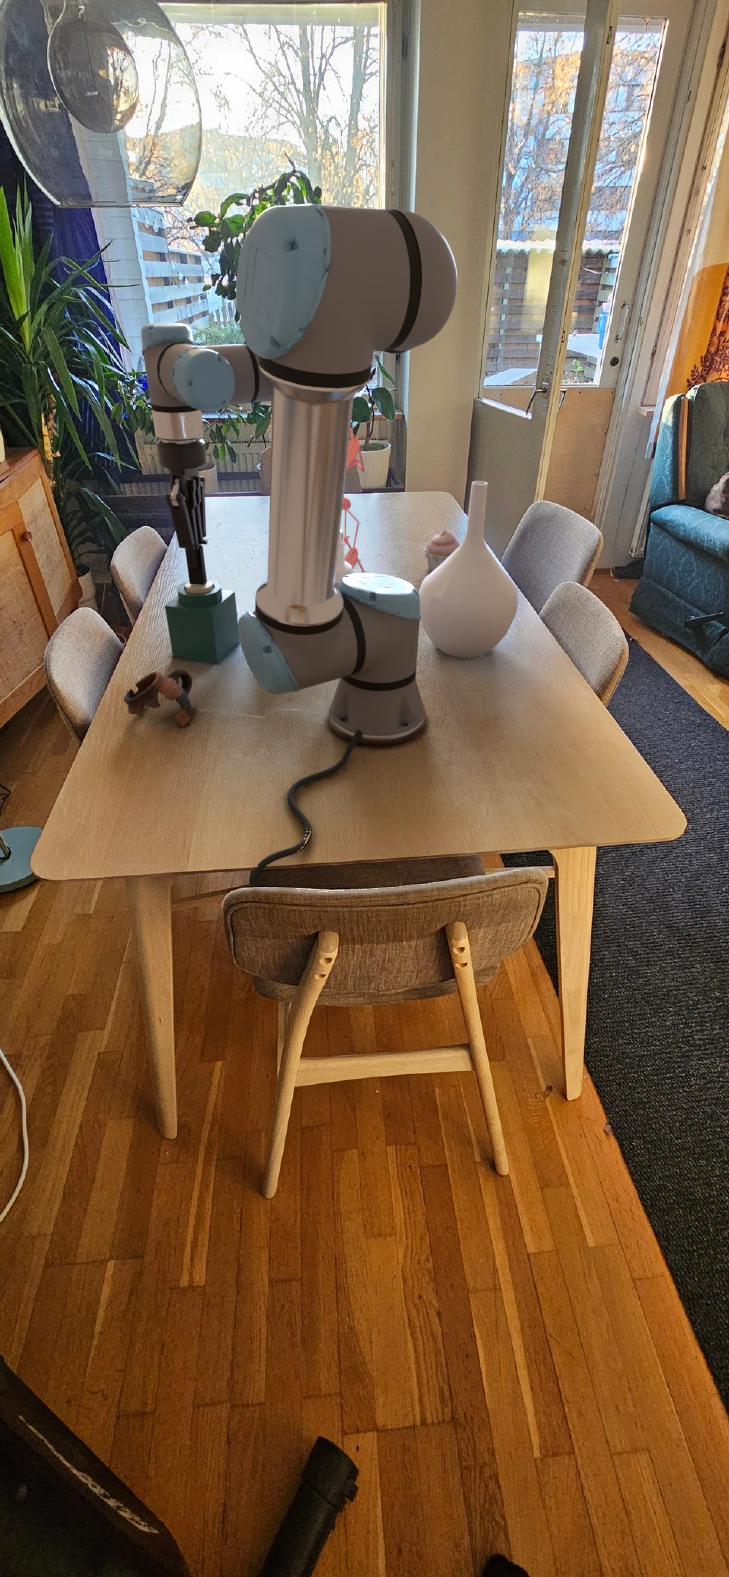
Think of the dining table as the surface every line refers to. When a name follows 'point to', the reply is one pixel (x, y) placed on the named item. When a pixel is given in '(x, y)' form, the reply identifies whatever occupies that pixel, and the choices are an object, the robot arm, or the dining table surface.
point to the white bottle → (341, 563)
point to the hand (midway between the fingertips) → (198, 582)
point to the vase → (468, 592)
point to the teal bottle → (202, 624)
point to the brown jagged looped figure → (167, 687)
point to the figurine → (352, 453)
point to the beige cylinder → (199, 587)
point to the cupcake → (440, 549)
